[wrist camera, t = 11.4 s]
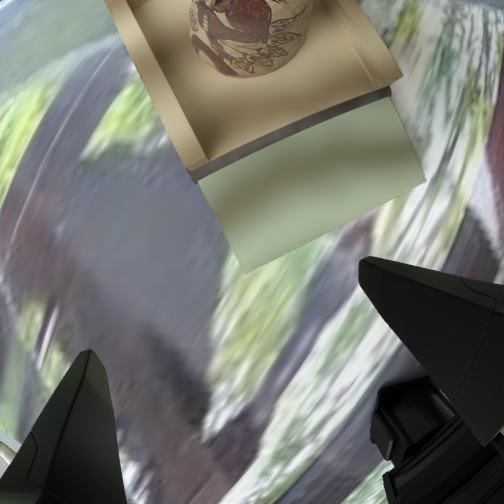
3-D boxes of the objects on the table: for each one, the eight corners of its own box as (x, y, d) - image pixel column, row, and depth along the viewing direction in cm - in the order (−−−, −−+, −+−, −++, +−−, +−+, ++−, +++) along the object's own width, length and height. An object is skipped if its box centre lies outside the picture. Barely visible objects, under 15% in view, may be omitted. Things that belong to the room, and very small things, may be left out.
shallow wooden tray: (420, 180, 20) (452, 179, 16) (242, 271, 21) (243, 288, 17) (286, -42, 17) (294, -71, 13) (117, 22, 17) (99, -4, 13)
